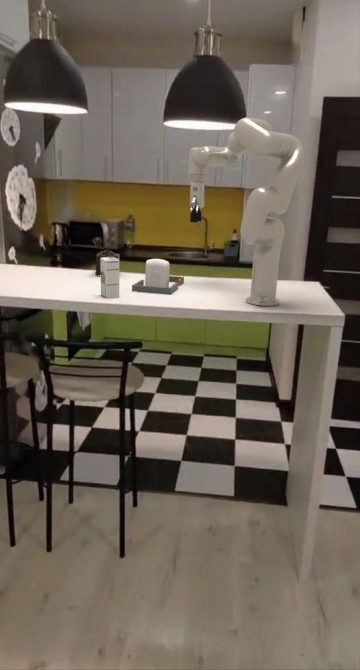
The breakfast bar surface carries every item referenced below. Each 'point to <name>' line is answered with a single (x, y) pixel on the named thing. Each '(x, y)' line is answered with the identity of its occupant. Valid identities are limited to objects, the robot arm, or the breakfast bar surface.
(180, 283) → the dock
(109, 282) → the syrup box
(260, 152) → the robot arm
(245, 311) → the breakfast bar surface
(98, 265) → the twin bell alarm clock
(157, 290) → the bay
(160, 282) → the photo printer
